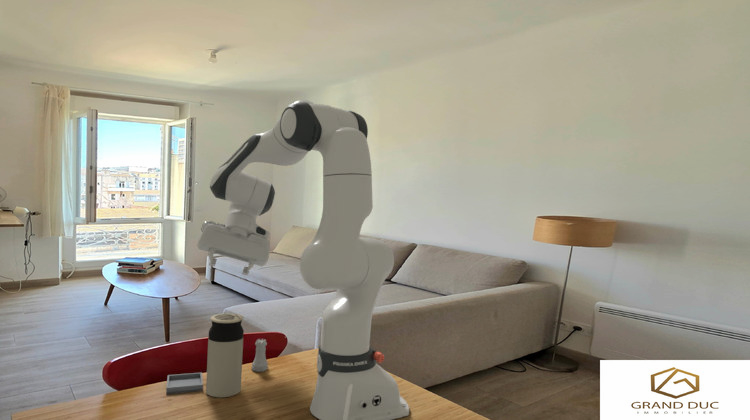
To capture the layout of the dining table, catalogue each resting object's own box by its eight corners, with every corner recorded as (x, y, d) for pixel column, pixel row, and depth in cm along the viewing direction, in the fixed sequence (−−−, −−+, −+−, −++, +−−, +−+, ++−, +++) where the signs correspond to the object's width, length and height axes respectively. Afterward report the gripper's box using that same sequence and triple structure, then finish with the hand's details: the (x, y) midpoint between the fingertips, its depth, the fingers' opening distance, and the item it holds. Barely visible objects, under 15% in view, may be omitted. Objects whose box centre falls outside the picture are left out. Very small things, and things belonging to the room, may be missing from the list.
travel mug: (206, 400, 110) (210, 322, 109) (205, 386, 117) (208, 313, 117) (242, 396, 113) (246, 320, 112) (238, 383, 120) (242, 312, 120)
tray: (201, 378, 122) (201, 372, 122) (202, 390, 115) (203, 384, 115) (167, 381, 119) (167, 375, 119) (166, 394, 112) (166, 387, 112)
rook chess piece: (270, 367, 132) (272, 338, 132) (263, 373, 128) (265, 343, 128) (256, 365, 133) (257, 336, 133) (248, 371, 129) (249, 341, 129)
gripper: (206, 213, 138) (193, 254, 130) (274, 234, 145) (266, 273, 137) (202, 224, 143) (189, 264, 134) (268, 244, 150) (260, 283, 141)
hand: (228, 269), depth 135 cm, fingers open, 8 cm apart
